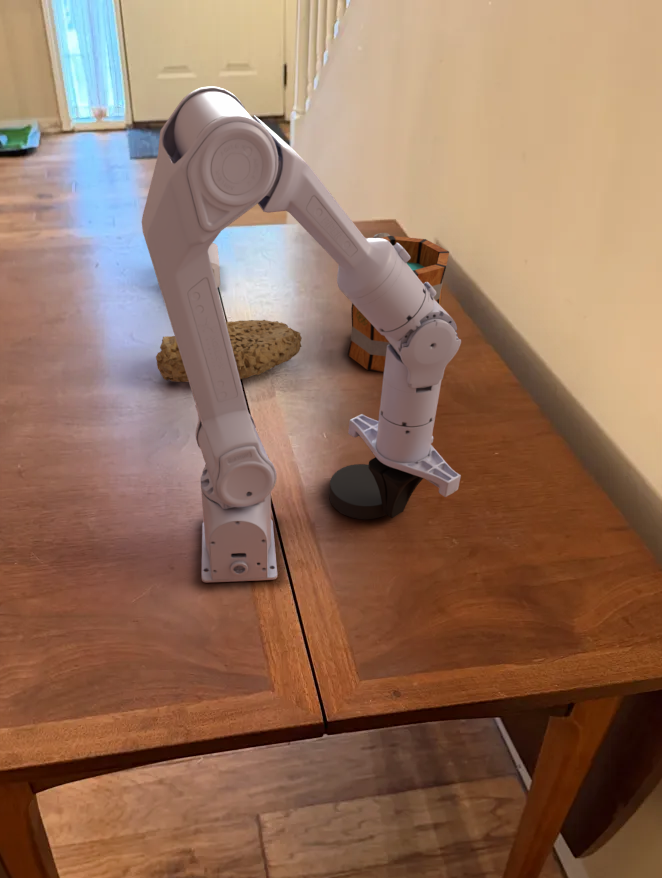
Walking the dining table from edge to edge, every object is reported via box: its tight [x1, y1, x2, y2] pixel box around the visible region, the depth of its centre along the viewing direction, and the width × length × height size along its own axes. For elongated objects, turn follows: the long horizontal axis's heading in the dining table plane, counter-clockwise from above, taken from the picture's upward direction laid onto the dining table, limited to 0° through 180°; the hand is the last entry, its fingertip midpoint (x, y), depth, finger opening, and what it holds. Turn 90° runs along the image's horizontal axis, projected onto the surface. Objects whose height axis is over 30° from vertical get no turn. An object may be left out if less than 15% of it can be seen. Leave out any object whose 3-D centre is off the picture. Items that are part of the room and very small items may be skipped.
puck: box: [328, 463, 387, 520], centre depth 92 cm, size 8×8×2 cm
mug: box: [347, 232, 450, 373], centre depth 115 cm, size 20×14×15 cm
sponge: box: [155, 319, 303, 383], centre depth 111 cm, size 13×8×20 cm
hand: (393, 512), depth 89 cm, fingers closed
